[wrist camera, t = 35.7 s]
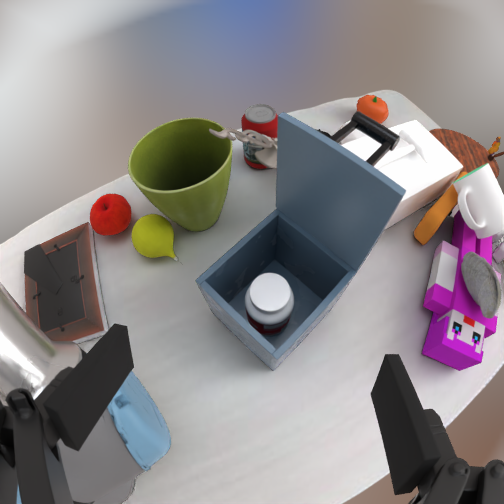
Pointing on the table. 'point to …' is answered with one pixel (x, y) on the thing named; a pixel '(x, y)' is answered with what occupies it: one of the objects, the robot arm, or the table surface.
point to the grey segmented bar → (500, 253)
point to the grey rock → (482, 283)
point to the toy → (456, 302)
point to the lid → (336, 185)
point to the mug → (481, 201)
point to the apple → (110, 214)
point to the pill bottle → (269, 304)
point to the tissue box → (412, 166)
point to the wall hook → (264, 156)
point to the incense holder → (468, 150)
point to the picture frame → (65, 287)
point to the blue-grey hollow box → (286, 265)
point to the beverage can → (258, 130)
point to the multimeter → (437, 214)
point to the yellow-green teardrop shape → (153, 236)
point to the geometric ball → (352, 135)
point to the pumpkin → (373, 108)
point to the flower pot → (184, 171)
